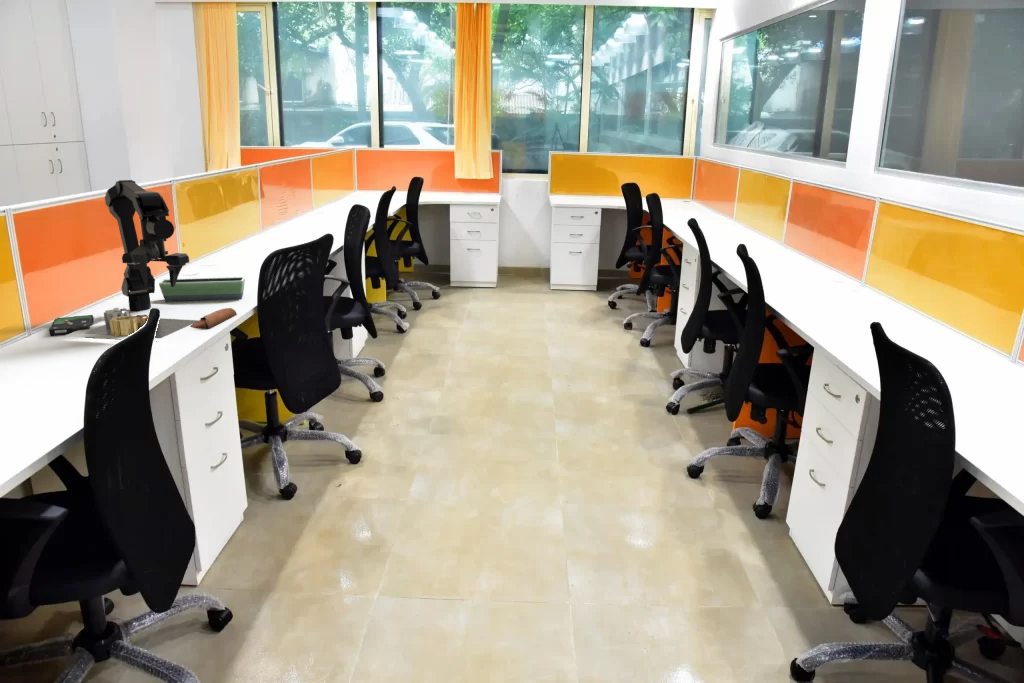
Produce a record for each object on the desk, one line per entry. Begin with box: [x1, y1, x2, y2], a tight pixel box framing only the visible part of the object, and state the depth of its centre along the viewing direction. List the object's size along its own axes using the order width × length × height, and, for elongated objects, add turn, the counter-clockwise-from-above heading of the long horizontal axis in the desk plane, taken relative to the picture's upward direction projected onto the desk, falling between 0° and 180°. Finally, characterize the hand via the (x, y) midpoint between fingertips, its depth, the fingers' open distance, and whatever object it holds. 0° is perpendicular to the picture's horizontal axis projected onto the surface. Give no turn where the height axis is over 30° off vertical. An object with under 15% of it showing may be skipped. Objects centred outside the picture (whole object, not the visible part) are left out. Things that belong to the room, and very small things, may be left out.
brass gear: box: [110, 314, 138, 337], centre depth 209 cm, size 7×7×4 cm
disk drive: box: [48, 314, 95, 337], centre depth 218 cm, size 10×3×15 cm
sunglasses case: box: [189, 307, 238, 330], centre depth 224 cm, size 18×7×7 cm
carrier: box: [84, 307, 199, 343], centre depth 216 cm, size 20×24×6 cm
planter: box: [158, 276, 246, 303], centre depth 256 cm, size 28×7×7 cm, turn 103°
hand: (159, 286), depth 221 cm, fingers open, 9 cm apart
